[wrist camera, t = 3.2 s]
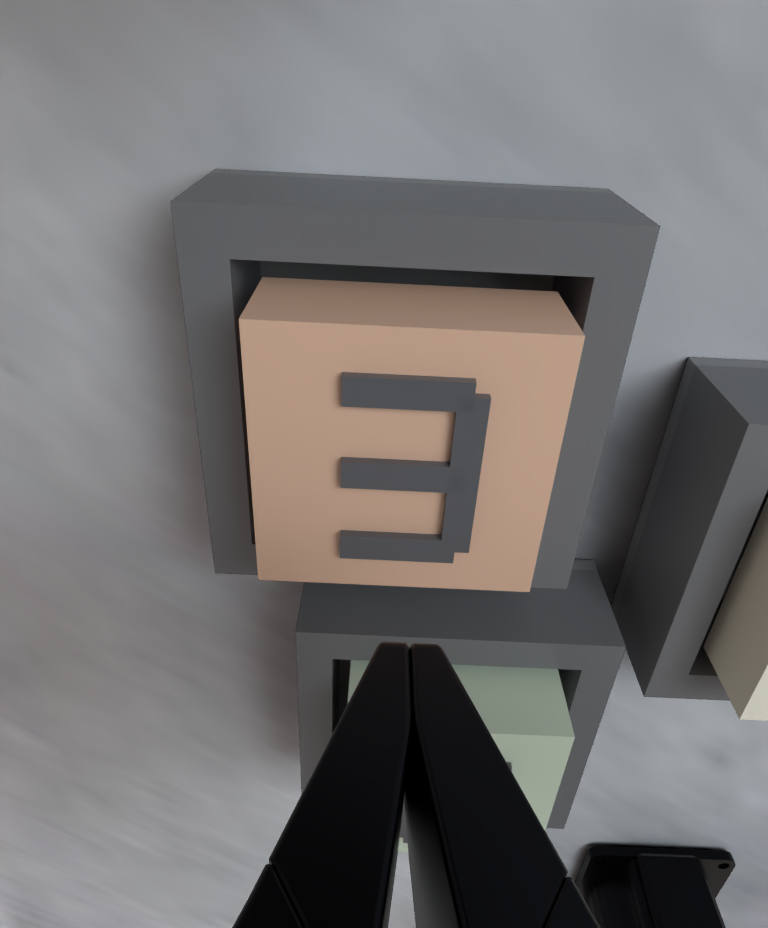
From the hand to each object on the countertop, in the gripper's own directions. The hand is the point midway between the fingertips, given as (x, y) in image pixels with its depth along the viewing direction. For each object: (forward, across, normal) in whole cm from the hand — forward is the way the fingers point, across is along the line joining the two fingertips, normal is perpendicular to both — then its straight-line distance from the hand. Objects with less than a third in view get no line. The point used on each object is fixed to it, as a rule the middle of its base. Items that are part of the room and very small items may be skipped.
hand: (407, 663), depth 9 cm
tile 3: (+7, 0, 0) cm, 7 cm away
